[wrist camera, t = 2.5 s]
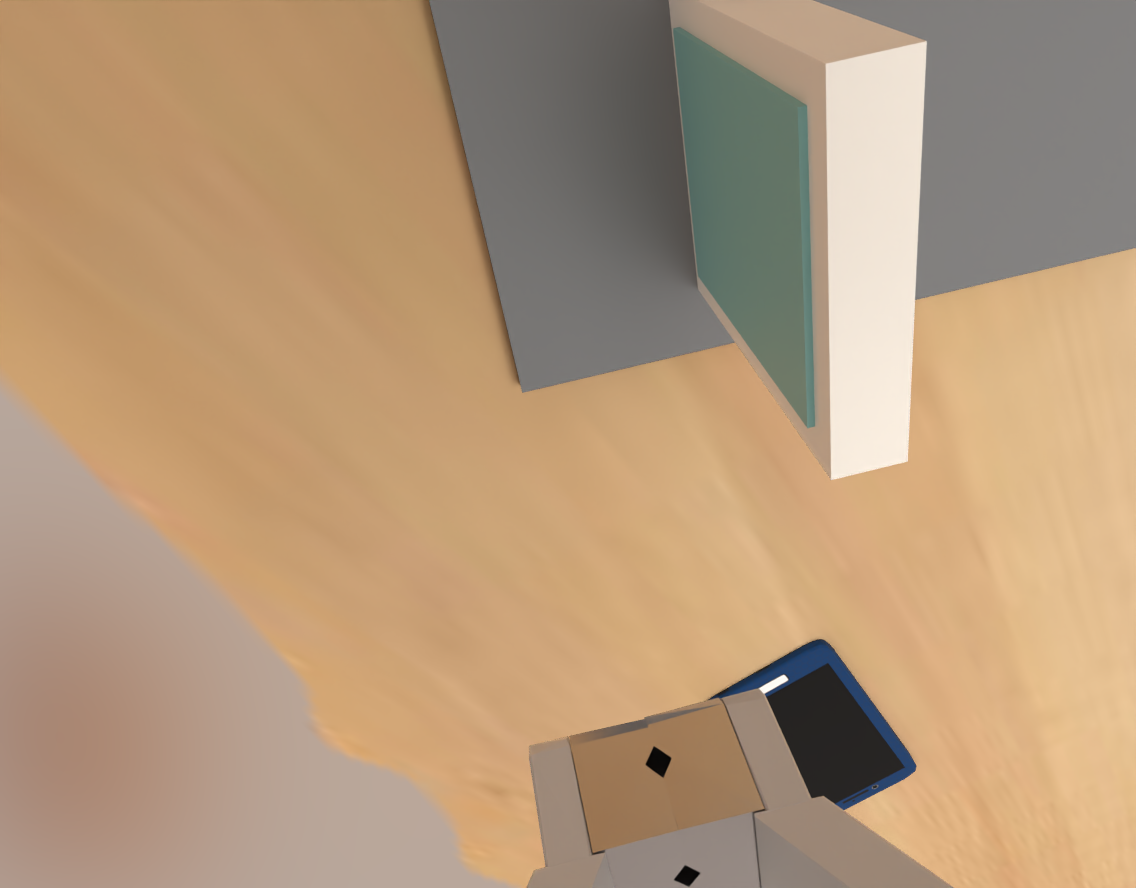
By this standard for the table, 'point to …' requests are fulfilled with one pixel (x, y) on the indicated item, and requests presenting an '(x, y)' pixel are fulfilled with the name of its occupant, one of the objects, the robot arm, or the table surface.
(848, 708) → the cell phone
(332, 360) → the table surface
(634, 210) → the mat
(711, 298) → the white picture frame
